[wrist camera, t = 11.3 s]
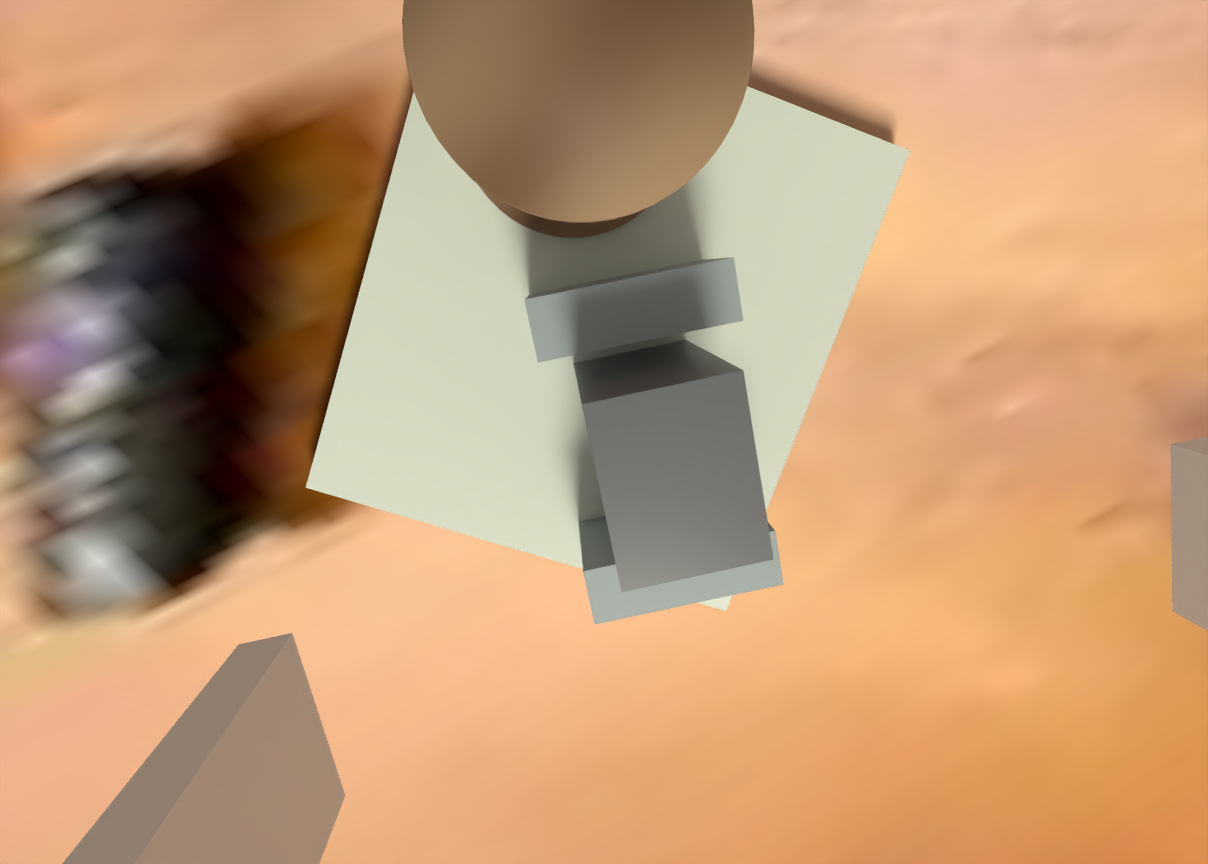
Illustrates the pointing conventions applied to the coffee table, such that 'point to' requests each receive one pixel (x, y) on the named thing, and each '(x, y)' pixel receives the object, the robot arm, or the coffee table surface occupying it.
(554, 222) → the bobbin
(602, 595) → the notch
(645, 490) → the gray rectangular block
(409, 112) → the board
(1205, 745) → the coffee table surface
